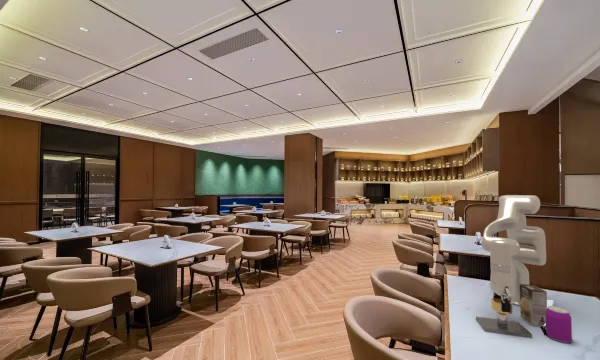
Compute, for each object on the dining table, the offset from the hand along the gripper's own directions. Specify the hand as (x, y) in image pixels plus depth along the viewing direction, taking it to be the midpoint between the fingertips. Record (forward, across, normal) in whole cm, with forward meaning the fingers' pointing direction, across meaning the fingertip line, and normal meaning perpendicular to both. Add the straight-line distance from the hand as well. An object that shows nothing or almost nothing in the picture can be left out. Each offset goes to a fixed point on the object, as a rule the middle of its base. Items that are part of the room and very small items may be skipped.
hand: (501, 307), depth 117 cm
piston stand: (+9, 0, 0) cm, 9 cm away
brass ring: (+1, 0, 0) cm, 1 cm away
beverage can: (+9, +2, +19) cm, 21 cm away
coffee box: (+9, -12, +17) cm, 22 cm away
